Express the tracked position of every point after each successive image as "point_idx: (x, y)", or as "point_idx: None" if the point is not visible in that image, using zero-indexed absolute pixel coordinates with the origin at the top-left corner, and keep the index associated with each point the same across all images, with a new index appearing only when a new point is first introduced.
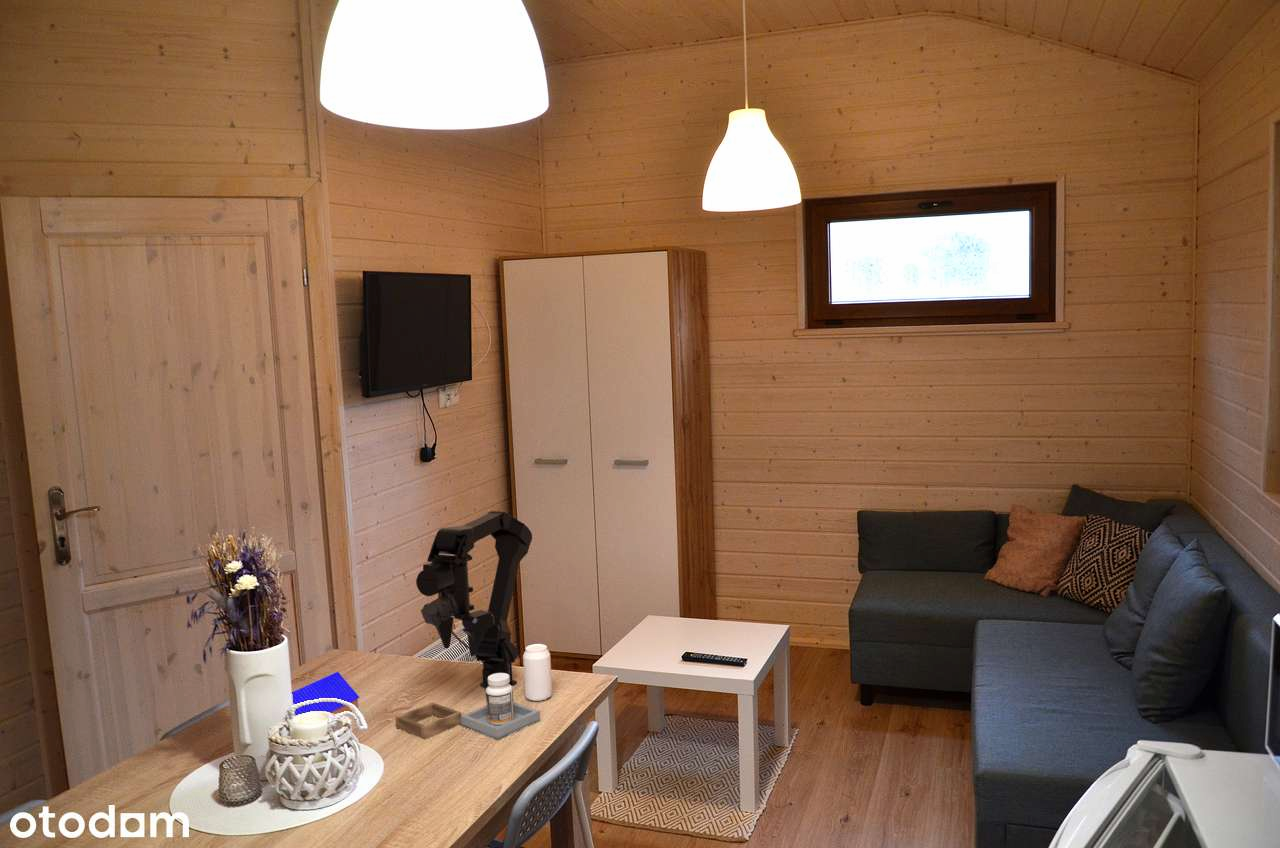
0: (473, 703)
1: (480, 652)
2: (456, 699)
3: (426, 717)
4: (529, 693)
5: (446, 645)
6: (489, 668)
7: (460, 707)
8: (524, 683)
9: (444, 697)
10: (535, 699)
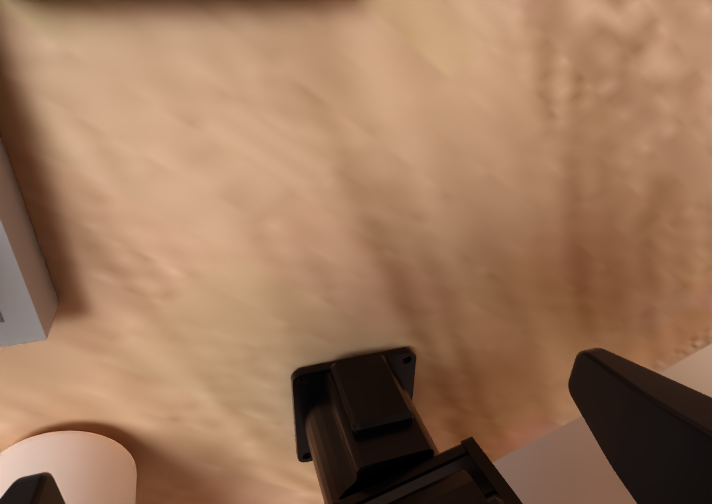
0: (261, 230)
1: (435, 500)
2: (380, 199)
3: None
4: (26, 461)
5: (599, 385)
6: (370, 441)
7: (270, 152)
8: (84, 492)
9: (452, 172)
10: (4, 451)
